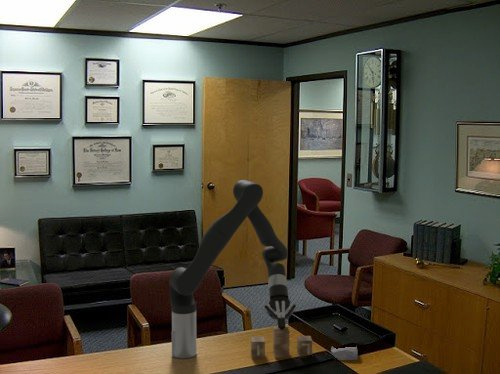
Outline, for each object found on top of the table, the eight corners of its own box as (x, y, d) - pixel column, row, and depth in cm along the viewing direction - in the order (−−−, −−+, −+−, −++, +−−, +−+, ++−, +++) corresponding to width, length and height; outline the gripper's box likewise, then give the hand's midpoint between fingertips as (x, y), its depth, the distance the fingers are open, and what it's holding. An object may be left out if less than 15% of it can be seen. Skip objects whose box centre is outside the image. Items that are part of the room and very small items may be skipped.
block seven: (299, 357, 218) (299, 341, 217) (297, 352, 223) (297, 336, 223) (312, 357, 218) (312, 340, 218) (309, 352, 223) (310, 335, 223)
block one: (251, 358, 217) (251, 342, 216) (250, 353, 222) (250, 337, 221) (264, 358, 217) (265, 341, 216) (263, 353, 222) (263, 336, 222)
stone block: (333, 365, 216) (360, 360, 215) (331, 352, 216) (357, 348, 215) (331, 353, 228) (356, 349, 227) (329, 342, 227) (354, 337, 227)
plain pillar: (274, 358, 217) (274, 332, 216) (273, 352, 223) (273, 327, 222) (289, 357, 218) (289, 332, 217) (287, 352, 223) (287, 327, 222)
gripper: (262, 284, 227) (265, 324, 216) (295, 283, 228) (300, 323, 217) (261, 293, 233) (264, 333, 222) (293, 292, 234) (298, 332, 222)
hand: (281, 328), depth 219 cm, fingers closed
